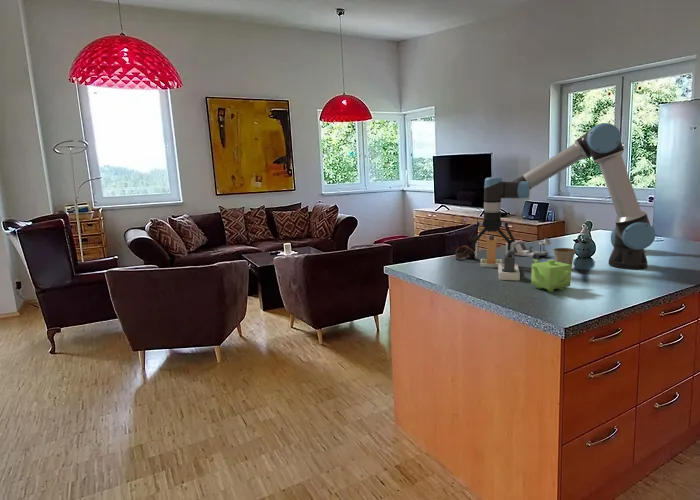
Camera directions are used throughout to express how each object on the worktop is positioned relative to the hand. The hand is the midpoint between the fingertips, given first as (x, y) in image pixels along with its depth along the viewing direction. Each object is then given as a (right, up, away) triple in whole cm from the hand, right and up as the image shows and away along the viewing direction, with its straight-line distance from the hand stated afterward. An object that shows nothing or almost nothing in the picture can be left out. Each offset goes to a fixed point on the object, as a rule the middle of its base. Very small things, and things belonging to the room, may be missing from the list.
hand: (491, 256), depth 221 cm
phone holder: (+26, 0, +20) cm, 33 cm away
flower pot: (+29, -5, -10) cm, 31 cm away
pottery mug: (-8, -2, +15) cm, 18 cm away
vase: (+77, +2, +23) cm, 81 cm away
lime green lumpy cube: (+10, -12, -39) cm, 42 cm away
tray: (0, -4, +1) cm, 4 cm away
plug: (0, -4, +1) cm, 4 cm away
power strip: (+2, -8, -17) cm, 19 cm away
